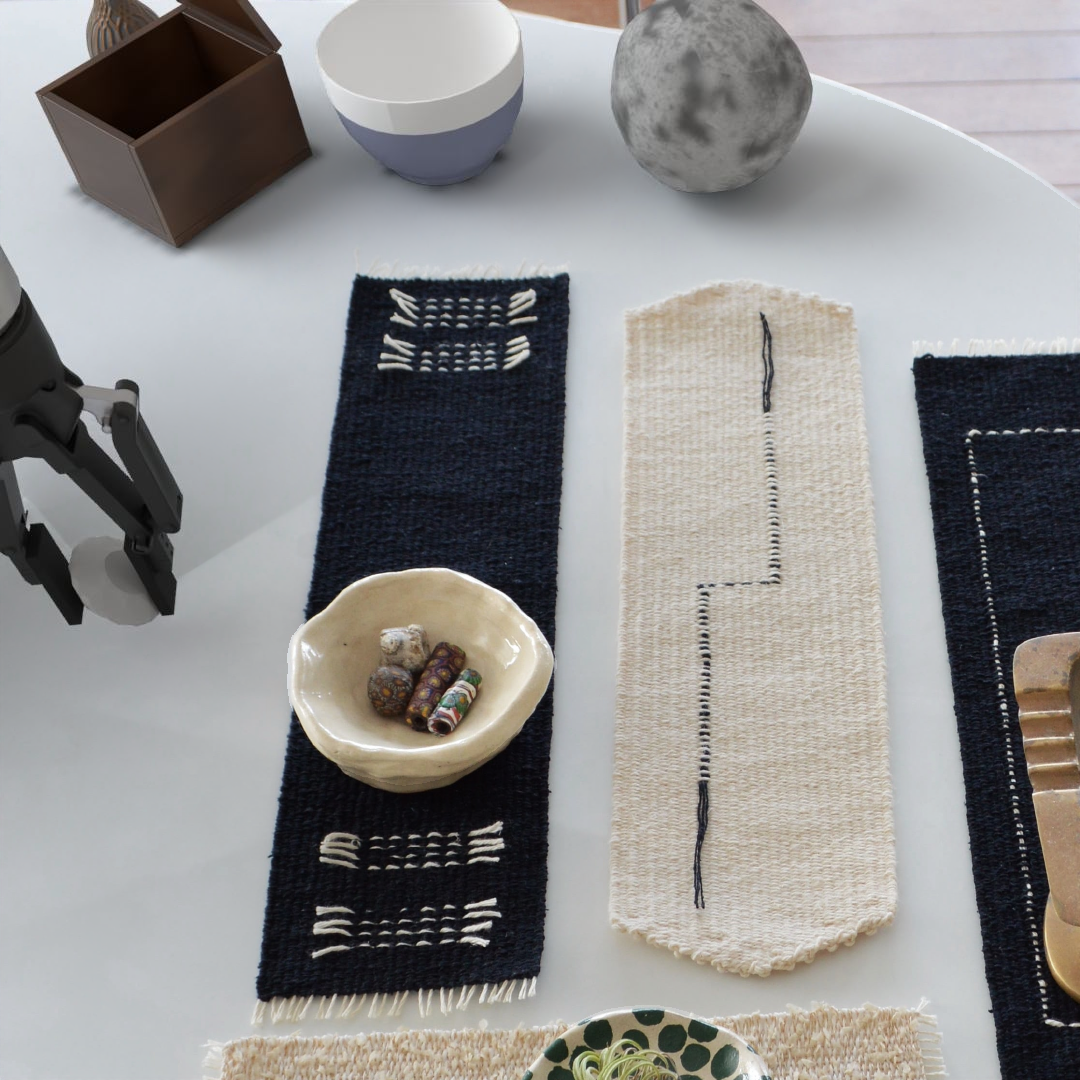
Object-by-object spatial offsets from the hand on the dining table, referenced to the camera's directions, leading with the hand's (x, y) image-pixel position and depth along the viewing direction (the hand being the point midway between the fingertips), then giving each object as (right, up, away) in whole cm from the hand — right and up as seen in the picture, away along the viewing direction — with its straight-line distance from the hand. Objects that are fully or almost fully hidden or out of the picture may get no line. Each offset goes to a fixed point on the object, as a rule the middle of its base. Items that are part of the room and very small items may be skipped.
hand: (123, 602), depth 91 cm
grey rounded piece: (0, 0, 0) cm, 1 cm away
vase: (-13, +48, +33) cm, 60 cm away
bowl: (+14, +41, +29) cm, 52 cm away
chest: (-6, +39, +27) cm, 48 cm away
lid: (-4, +50, +15) cm, 52 cm away
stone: (+36, +38, +27) cm, 59 cm away
